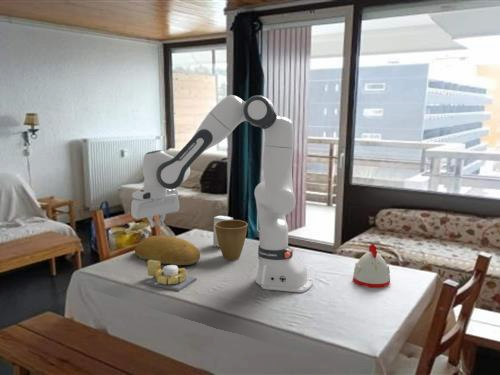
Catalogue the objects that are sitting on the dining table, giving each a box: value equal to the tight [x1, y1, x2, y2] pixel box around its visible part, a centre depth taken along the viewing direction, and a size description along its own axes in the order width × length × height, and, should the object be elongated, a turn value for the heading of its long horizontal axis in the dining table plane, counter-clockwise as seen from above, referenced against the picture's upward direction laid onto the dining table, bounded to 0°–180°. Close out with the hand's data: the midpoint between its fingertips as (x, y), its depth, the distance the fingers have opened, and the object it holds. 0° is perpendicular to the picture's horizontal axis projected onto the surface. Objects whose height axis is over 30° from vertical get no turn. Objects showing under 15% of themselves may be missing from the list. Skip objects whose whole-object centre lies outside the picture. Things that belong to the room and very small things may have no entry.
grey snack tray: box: [144, 264, 198, 292], centre depth 165 cm, size 16×12×6 cm
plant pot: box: [215, 219, 248, 261], centre depth 193 cm, size 15×15×16 cm
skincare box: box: [212, 215, 234, 248], centre depth 211 cm, size 8×6×15 cm
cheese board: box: [146, 260, 187, 285], centre depth 166 cm, size 16×11×6 cm
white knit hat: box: [352, 243, 391, 289], centre depth 165 cm, size 14×14×15 cm
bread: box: [134, 234, 201, 266], centre depth 194 cm, size 18×35×10 cm, turn 59°
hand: (156, 226), depth 168 cm, fingers open, 2 cm apart
